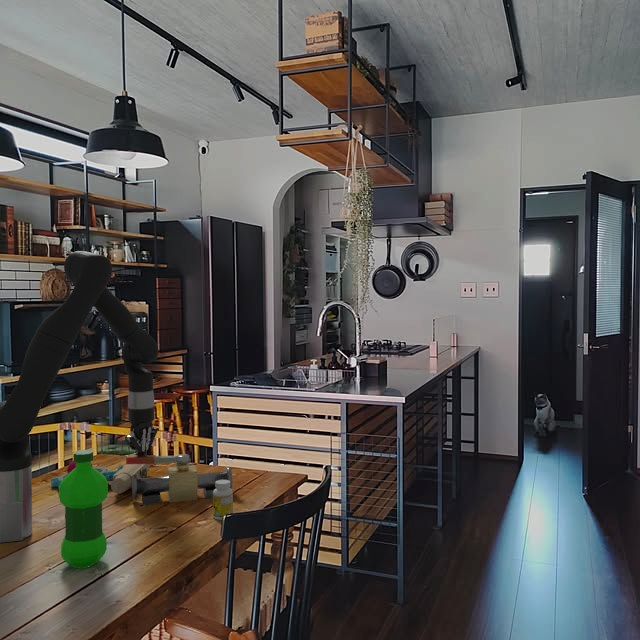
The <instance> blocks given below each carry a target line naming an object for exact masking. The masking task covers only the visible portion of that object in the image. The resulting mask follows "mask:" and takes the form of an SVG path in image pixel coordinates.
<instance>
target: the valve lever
mask: <svg viewBox="0 0 640 640" xmlns="http://www.w3.org/2000/svg"><path fill="white" fill-rule="evenodd" d="M125 462H126V463H125V465H126V464H150V465H155V464H175V465H176V464H188V463H189V464H190V454H188V453H187V454H186V453H181V454H176V455H155V454H154V455H150V454H149V455H148V454H147V455H137V454H136V455H127V456H126V458H125Z"/></svg>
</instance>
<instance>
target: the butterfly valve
mask: <svg viewBox="0 0 640 640" xmlns="http://www.w3.org/2000/svg"><path fill="white" fill-rule="evenodd" d="M150 467H151V464H126V463H125V465H124V466H123V465H119V466H118V467H117V469H116V470H108V469H107V467H103V466H102V467H101V466H94V467H93V468H94V469H96V470H97V471H99V472H100V473H101V474H103V475H104V476H105V478H106V480H107V483H108V482H109V483H110V482H111V484H110V487H111V490H112V491H113V493H115V494H122V493H125V492H127V491H128V490H129V489H132V474H137V479H139V478H147V476H148V472H149V471H150V470H149V468H150ZM67 475H68V473H67V472H66V473H64V474H63V473H62V474H61V475H59V476H57V477H56V476H55V477H53V478H51V479H50V483H51V487H57V488H58V490H59V486H60V483H61V481H62V480H63V479H64V478H65V477H66V476H67Z"/></svg>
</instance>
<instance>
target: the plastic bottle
mask: <svg viewBox="0 0 640 640" xmlns="http://www.w3.org/2000/svg"><path fill="white" fill-rule="evenodd" d="M72 455H73V460H72V461H73V462H76V468H75V469H74V470H72V471H71V472H70V473H69V474H68V475H67V476H66V477H65V478H64V479H63V480H62V481H61V483H60V486H59V489H58V498H59V499H58V500H59V503H60V504H61V505H63V506H64V508H65V509H64V510H65V511H64V512H65V513H64V520H65V524H64V525H65V528H64V529H65V530H64V531H65V535H64V537H63V539H62V542H61V547H60V555H61V557H62V560H63V561H64V562H65V563H67V564H68V565H69V566H71V567H72V566H74V567H76V568H75V569H86V568H85V567H87V568H89V567H88V566H91V567H93V566H94V565H95V563H96V564H97V563H98V562H99V560H101V558H103V557H104V556H105V555H106V551H107V549H108V548H107V547H108V544H107V538H106V535H105V533H104V532H103V502H104V501H105V500H106V499H107V498H108V493H109V484H108V482H107V480H106V478H105V476H104V475H103V474H101V473H100V472H99V471H97V470H96V469H94V468H93V467H91V463H92V461H94V450H92V449H80V450H76V451H73V453H72ZM93 564H94V565H93ZM92 565H93V566H92ZM74 567H73V568H74Z"/></svg>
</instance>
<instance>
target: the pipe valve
mask: <svg viewBox="0 0 640 640" xmlns="http://www.w3.org/2000/svg"><path fill="white" fill-rule="evenodd" d="M175 465H176V466H168V467H167V476H166V475H165V476H154V477H142V478H139V479H137V474H132V488H131V498H132V500H137V499H138V497H137V496H138V495H141V503H142V504H145V505H154V504H155V505H157V504H161V493H167V497H168V498H167V499H168V502H169V504H171V503H178V502H179V503H180V502H181V501H182V502H191V501H192V500H193V501H198V490H200V489H201V490H203V491H202V492H203V495H204V497H205V499H206V500H209V498H210V499H213V491H214V490H215V489H216V487H215V482H216V481H218V480H229V481H230V487H229V488H231V489H232V490H233V473H232V468H231V467H230V466H226V467H224V471H217V472H207V473H206V472H203V473H198V469H197V467H196V465H195V464H194V465H193V464H192V465H190V462H189V463H188V464H176V463H175ZM142 504H141V505H142Z"/></svg>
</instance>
